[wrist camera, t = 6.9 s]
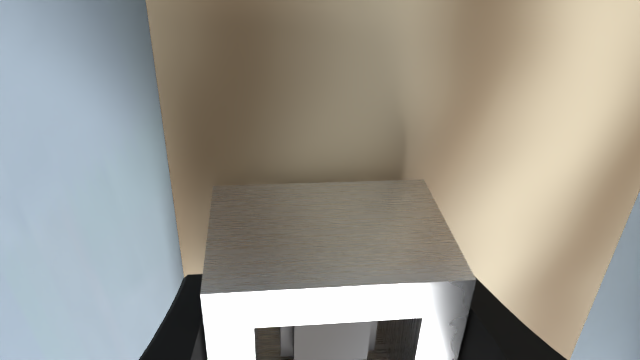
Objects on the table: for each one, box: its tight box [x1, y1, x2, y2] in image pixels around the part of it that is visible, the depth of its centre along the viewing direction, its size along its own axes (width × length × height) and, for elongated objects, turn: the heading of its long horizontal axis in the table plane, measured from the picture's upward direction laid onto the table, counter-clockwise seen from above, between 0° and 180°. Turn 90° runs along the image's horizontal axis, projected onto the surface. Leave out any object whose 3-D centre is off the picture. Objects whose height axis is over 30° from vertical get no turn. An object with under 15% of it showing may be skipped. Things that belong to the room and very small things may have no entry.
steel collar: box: [200, 179, 476, 360], centre depth 14 cm, size 6×6×4 cm
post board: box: [146, 0, 640, 360], centre depth 16 cm, size 14×18×5 cm
